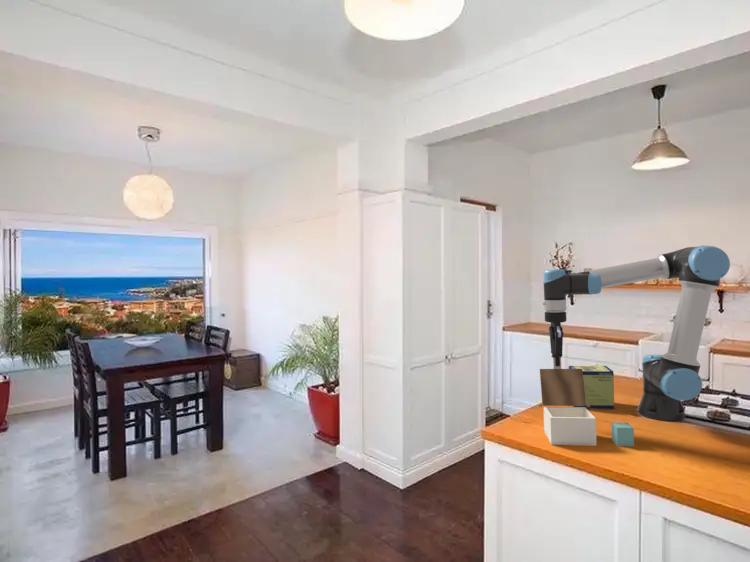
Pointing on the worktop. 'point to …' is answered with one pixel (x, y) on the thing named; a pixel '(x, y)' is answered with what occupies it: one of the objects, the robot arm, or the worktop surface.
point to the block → (622, 434)
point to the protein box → (597, 386)
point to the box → (569, 426)
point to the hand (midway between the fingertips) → (557, 374)
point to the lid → (562, 387)
